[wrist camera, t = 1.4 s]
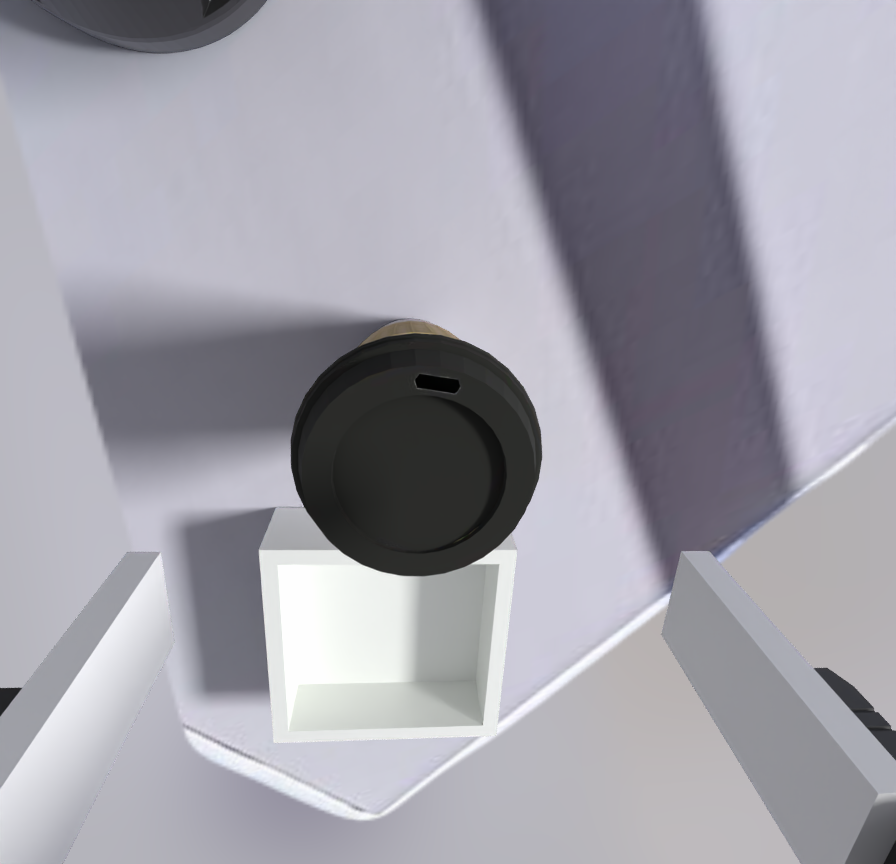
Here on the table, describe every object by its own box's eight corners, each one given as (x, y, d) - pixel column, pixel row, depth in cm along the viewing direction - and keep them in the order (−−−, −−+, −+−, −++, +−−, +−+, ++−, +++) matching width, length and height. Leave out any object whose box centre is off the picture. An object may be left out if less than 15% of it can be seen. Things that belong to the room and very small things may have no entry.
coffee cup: (320, 433, 36) (270, 578, 22) (338, 272, 32) (293, 321, 18) (473, 454, 37) (520, 603, 23) (506, 302, 34) (584, 369, 20)
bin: (275, 507, 37) (258, 550, 32) (502, 508, 39) (517, 550, 34) (287, 684, 43) (273, 743, 38) (485, 680, 44) (496, 735, 39)
